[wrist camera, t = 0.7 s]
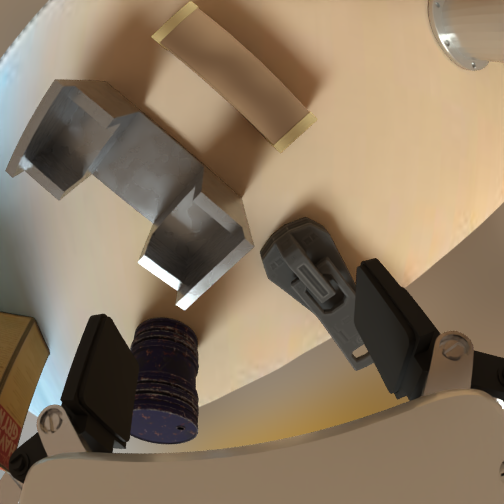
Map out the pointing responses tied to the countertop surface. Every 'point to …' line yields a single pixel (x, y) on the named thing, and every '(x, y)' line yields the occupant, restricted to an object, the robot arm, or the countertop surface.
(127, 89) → the countertop surface
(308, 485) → the robot arm
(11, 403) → the food packaging
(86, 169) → the grey cradle stand
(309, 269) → the zipper pull
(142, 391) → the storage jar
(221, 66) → the brown rectangular block
